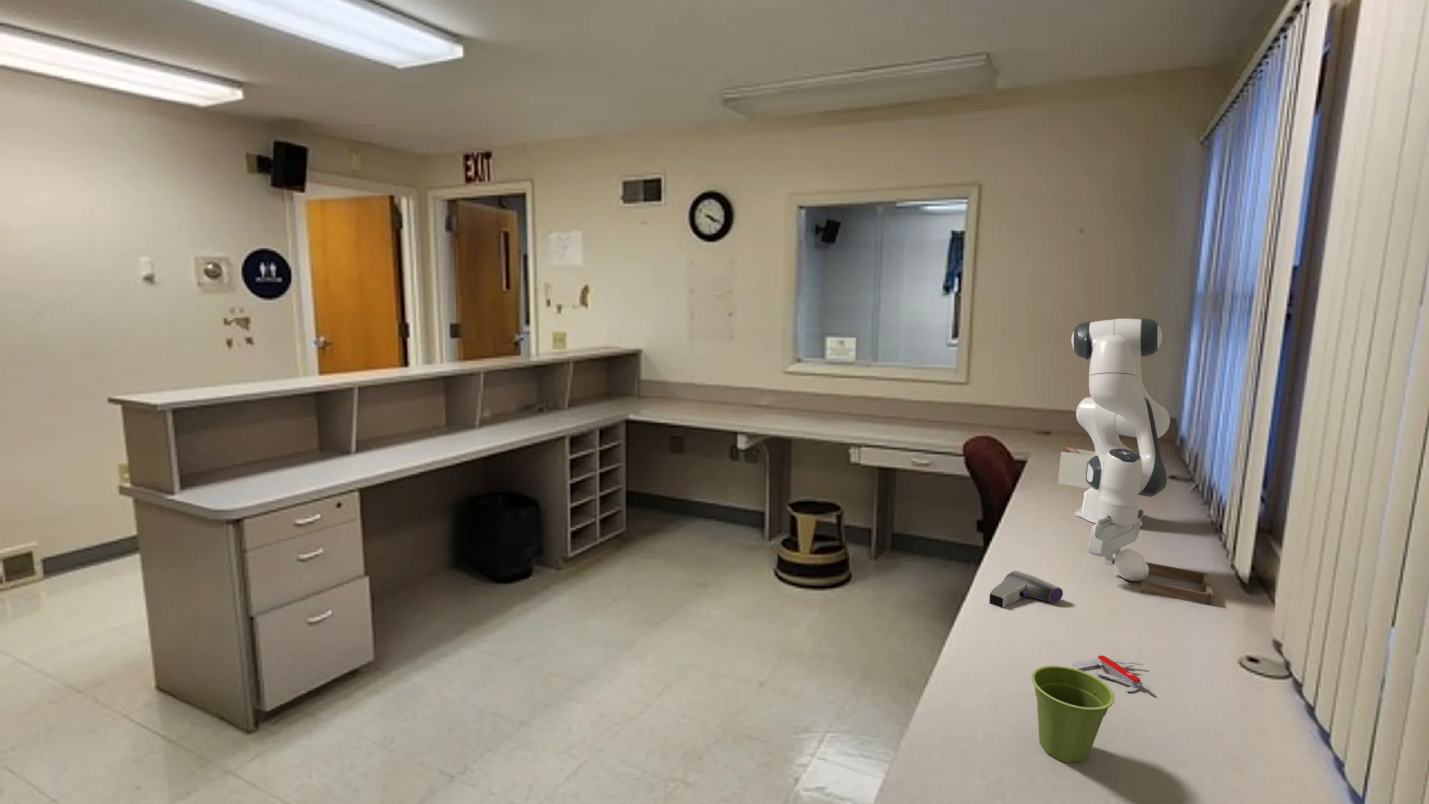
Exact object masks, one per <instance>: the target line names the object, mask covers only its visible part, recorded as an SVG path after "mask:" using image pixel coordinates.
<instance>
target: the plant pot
mask: <svg viewBox="0 0 1429 804" xmlns="http://www.w3.org/2000/svg"><path fill="white" fill-rule="evenodd" d="M1031 682H1032V685H1033V686H1034V691H1035V692H1034V693H1035V694H1034V695H1035V697H1036V703H1037V704H1036V705H1037V708H1036V709H1037V720H1038V721H1037V723H1038V724H1037V726H1038V740H1039V742H1038V743H1039V745H1040V746H1041V747H1042V749H1043V750H1044V751H1045V753H1047V754H1048V755H1050V756H1051V755H1052V756H1051V757H1053V758H1055V757H1056V758H1055V759H1057V760H1059V759H1060V760H1059V761H1062V760H1063V762H1065V761H1066V763H1071V762H1073V763H1074V762H1077V763H1083V762H1085V761H1087V760H1088V759H1089V756H1090V754H1091V752H1092V751H1091V750H1092V748H1093V745H1094V743H1095V740H1096V738H1097V734H1098V733H1099V729H1100V726H1101V724H1102V721H1103V718H1104V717H1106V714H1107V711H1108V709H1109V708H1110V707H1111V706H1113V704H1114V703H1115V701H1116V697H1115V693H1114V691H1113V690H1112V688H1111V687H1110V686H1109V685H1108V684H1106V682H1104V681H1102V679H1100V678H1098V677H1096V676H1094V675H1093V674H1090V673H1088V672H1086V671H1084V670H1080V669H1077V668H1074V667H1069V666H1064V665H1044V666H1040V667H1037V668H1036V669H1034V670H1033V671H1032V673H1031Z"/></svg>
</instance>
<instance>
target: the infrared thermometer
mask: <svg viewBox="0 0 1429 804" xmlns="http://www.w3.org/2000/svg"><path fill="white" fill-rule="evenodd" d="M1063 595H1064V591H1063V589H1062V588H1061V587H1059V586H1056V585H1055V584H1053V583H1051V582H1049V581H1046V580H1043V579H1042V578H1038V577H1037V576H1034V575H1031V574H1027V573H1024V572H1022V571H1019V570H1012V571H1011V572H1009V573H1008V574H1006V576H1005V577H1004V579H1003V580H1002V581H1001V582H1000V583H999V584H998V585H996V586H994V587H993V589H991V590H990V593H989V599H988V600H989V601H988V602H989V604H990V605H993V606H995V607H999V608H1000V609H1003V608H1004V607H1005V606H1008V605H1010V604H1013V603H1015V602H1017V601H1018V600H1020V599H1021V600H1022V599H1023V598H1026V597H1028V598H1033V599H1037V600H1041V601H1043V602H1048V603H1051V604H1052V603H1053V604H1055V603H1057V602H1059V601H1060V600H1062V597H1063Z"/></svg>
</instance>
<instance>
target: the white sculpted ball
mask: <svg viewBox="0 0 1429 804" xmlns="http://www.w3.org/2000/svg"><path fill="white" fill-rule="evenodd" d="M1146 562H1147V561H1146V560H1145V555H1143V554H1141V553H1140V552H1138V551H1136V550H1133V549H1128V548H1126V549H1123V550H1120V552H1119V553H1118V554H1117V556H1116V558H1115V562H1114V565H1113V566H1114V570H1115V571H1116V573H1117V574H1118V575H1119V576H1120V577H1121V578H1123V579H1125V580H1126V581H1132V582H1140V581H1142V580H1144V579H1145V578H1147V576H1148V575H1149V573H1148V572H1149V567H1148V565H1147V563H1146Z"/></svg>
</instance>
